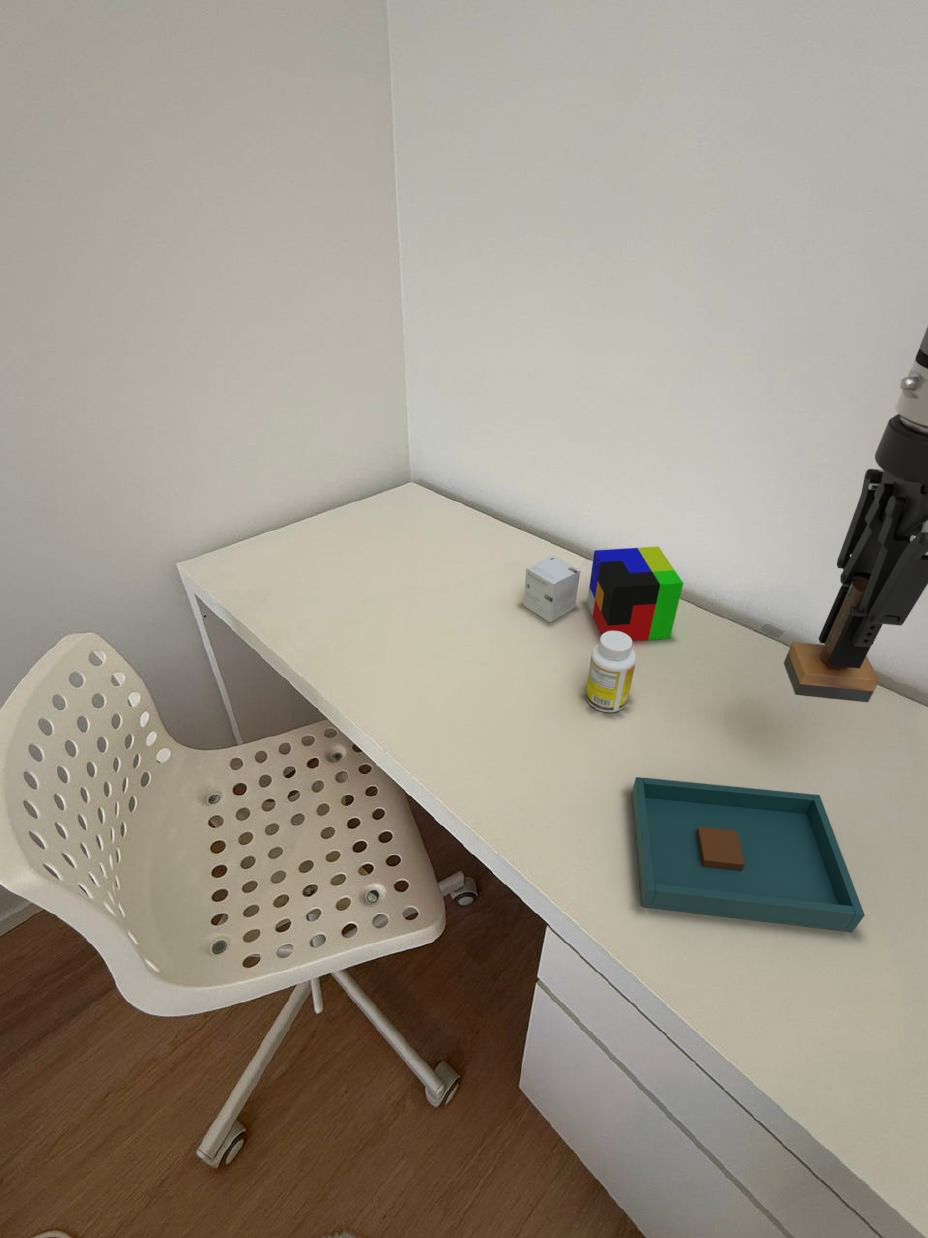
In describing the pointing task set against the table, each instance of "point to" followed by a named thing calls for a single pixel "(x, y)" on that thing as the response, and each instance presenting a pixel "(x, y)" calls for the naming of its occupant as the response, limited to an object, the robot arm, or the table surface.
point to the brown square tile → (720, 849)
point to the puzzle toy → (634, 592)
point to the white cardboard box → (551, 588)
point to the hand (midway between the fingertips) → (838, 652)
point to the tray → (772, 851)
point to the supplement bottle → (611, 672)
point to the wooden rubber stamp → (815, 671)
